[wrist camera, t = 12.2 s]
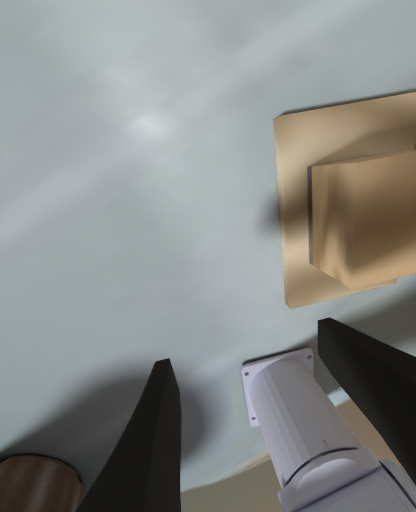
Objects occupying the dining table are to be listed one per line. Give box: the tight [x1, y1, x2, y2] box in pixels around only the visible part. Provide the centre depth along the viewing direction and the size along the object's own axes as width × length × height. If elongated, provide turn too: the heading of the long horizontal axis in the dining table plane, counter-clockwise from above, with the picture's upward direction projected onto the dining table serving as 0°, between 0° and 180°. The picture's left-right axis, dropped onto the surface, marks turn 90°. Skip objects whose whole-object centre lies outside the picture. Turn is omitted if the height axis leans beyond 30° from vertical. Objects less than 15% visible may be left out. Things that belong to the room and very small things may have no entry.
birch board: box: [273, 92, 416, 309], centre depth 19 cm, size 16×11×1 cm
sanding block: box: [307, 149, 416, 289], centre depth 16 cm, size 8×5×5 cm, turn 10°
